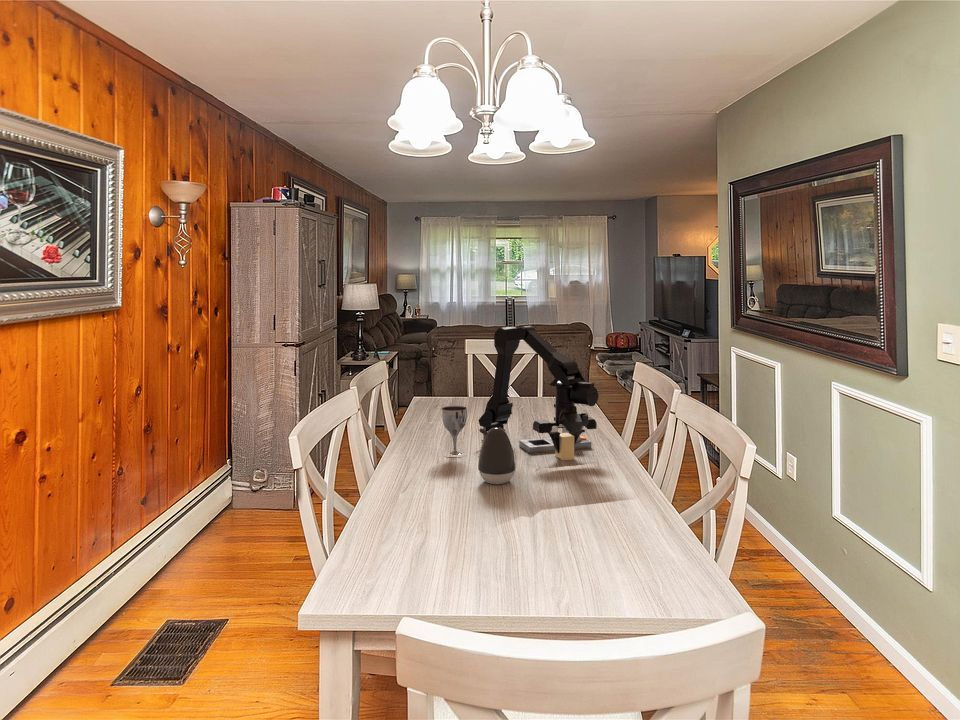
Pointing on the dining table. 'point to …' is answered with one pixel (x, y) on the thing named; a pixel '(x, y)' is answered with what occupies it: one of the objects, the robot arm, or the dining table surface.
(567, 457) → the ochre plug
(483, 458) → the dark grey egg shape
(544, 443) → the grey socket board
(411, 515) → the dining table surface
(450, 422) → the wine glass
